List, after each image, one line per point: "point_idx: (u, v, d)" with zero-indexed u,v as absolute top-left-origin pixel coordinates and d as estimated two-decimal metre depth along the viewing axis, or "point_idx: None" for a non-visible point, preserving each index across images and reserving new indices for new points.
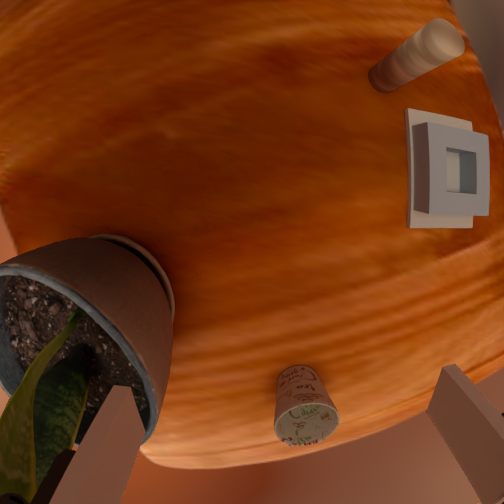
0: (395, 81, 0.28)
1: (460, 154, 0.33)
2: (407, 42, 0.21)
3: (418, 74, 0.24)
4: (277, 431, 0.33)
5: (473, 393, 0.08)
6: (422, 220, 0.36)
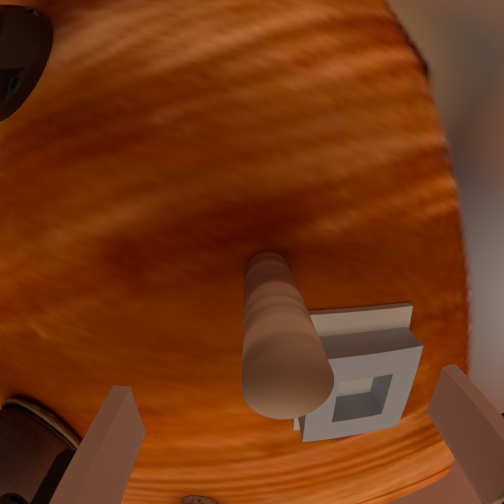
0: None
1: None
2: (244, 326, 0.16)
3: None
4: None
5: (473, 393, 0.08)
6: None
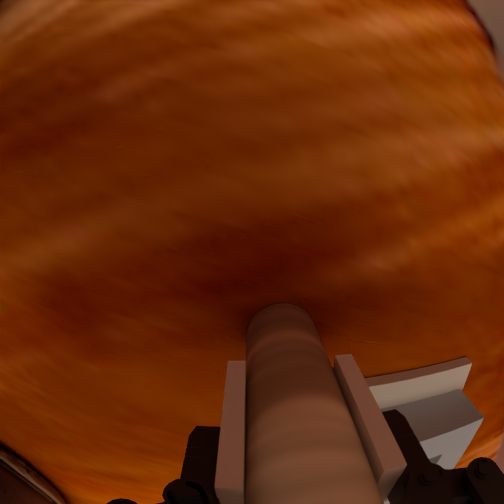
0: None
1: None
2: (246, 503, 0.06)
3: None
4: None
5: (356, 383, 0.10)
6: None
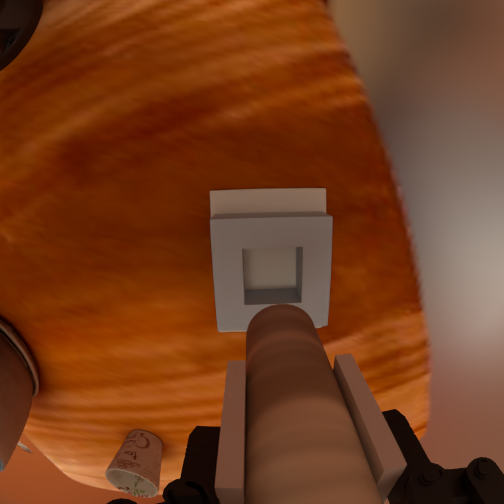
0: None
1: None
2: None
3: None
4: (112, 481, 0.32)
5: (356, 383, 0.10)
6: None
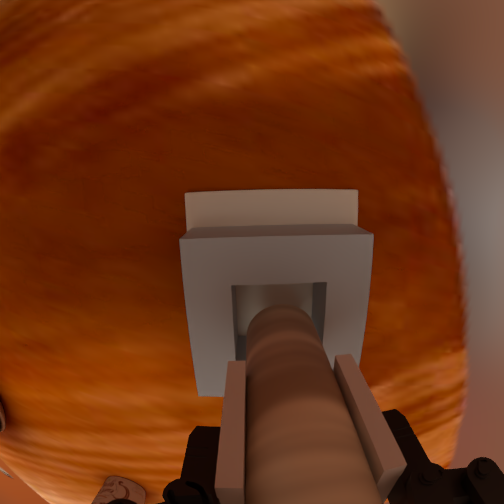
0: None
1: None
2: None
3: None
4: None
5: (356, 383, 0.10)
6: None
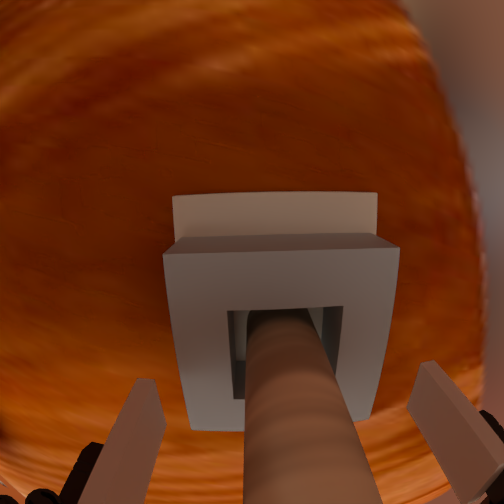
0: None
1: None
2: (246, 466, 0.07)
3: None
4: None
5: (450, 389, 0.09)
6: None
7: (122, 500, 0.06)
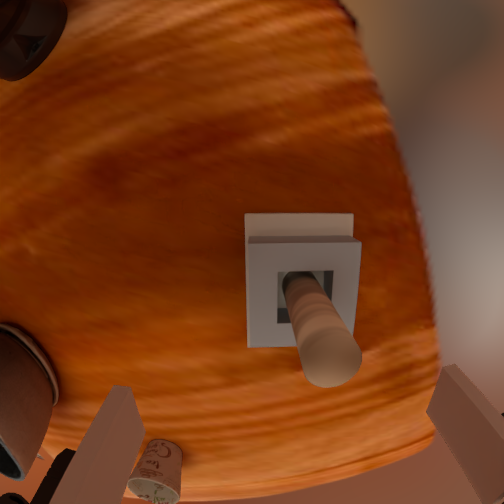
0: None
1: None
2: (296, 325, 0.23)
3: None
4: (133, 489, 0.33)
5: (473, 393, 0.08)
6: None
7: None
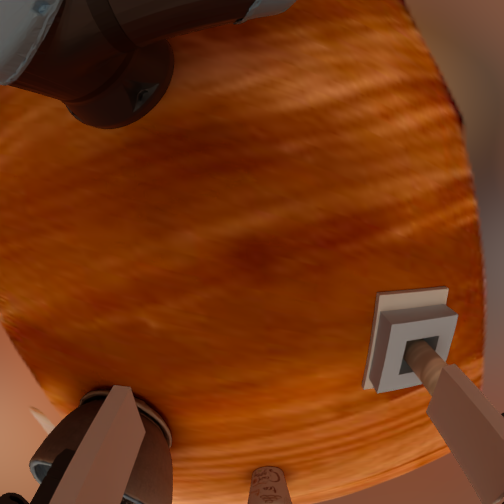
0: None
1: None
2: (433, 384, 0.28)
3: None
4: None
5: (473, 393, 0.08)
6: None
7: None
